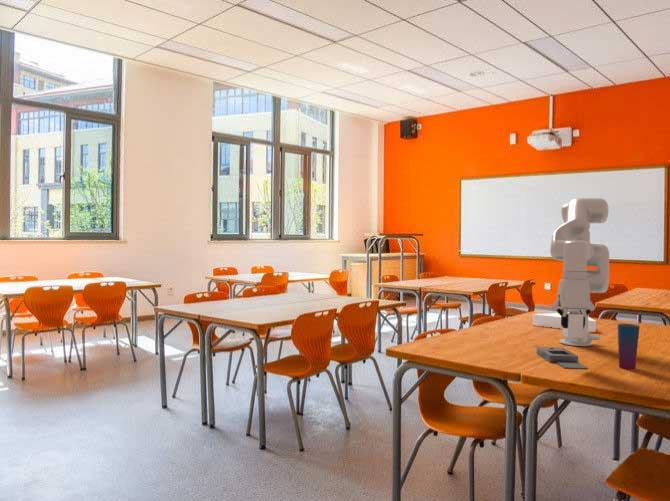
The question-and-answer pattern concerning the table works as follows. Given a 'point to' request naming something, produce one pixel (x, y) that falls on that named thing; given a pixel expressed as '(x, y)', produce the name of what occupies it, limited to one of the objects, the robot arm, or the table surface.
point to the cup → (627, 345)
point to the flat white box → (557, 321)
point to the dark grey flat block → (557, 354)
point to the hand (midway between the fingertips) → (572, 327)
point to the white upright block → (574, 325)
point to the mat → (571, 365)
